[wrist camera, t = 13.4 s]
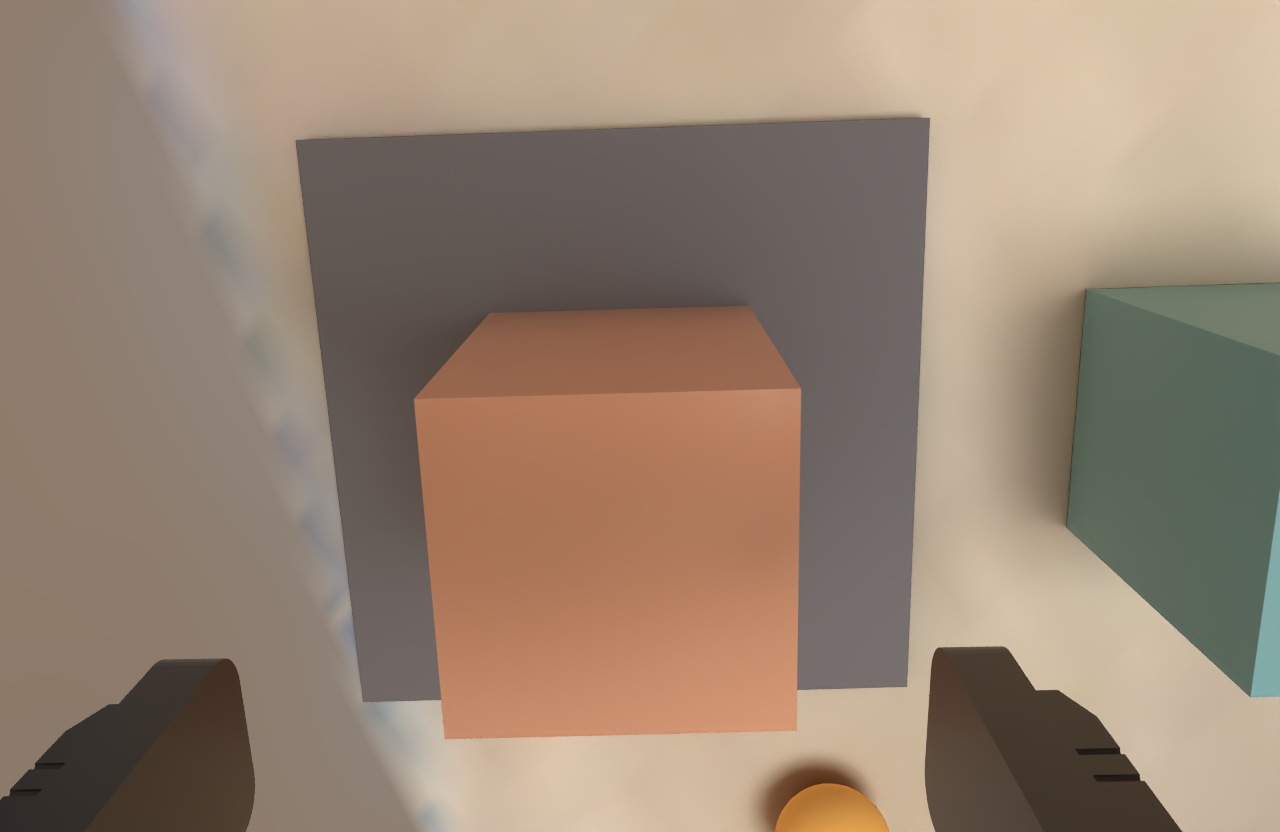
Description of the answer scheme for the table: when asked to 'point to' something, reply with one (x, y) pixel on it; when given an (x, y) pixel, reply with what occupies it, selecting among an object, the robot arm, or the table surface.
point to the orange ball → (830, 811)
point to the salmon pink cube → (613, 524)
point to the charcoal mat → (631, 279)
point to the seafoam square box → (1187, 462)
